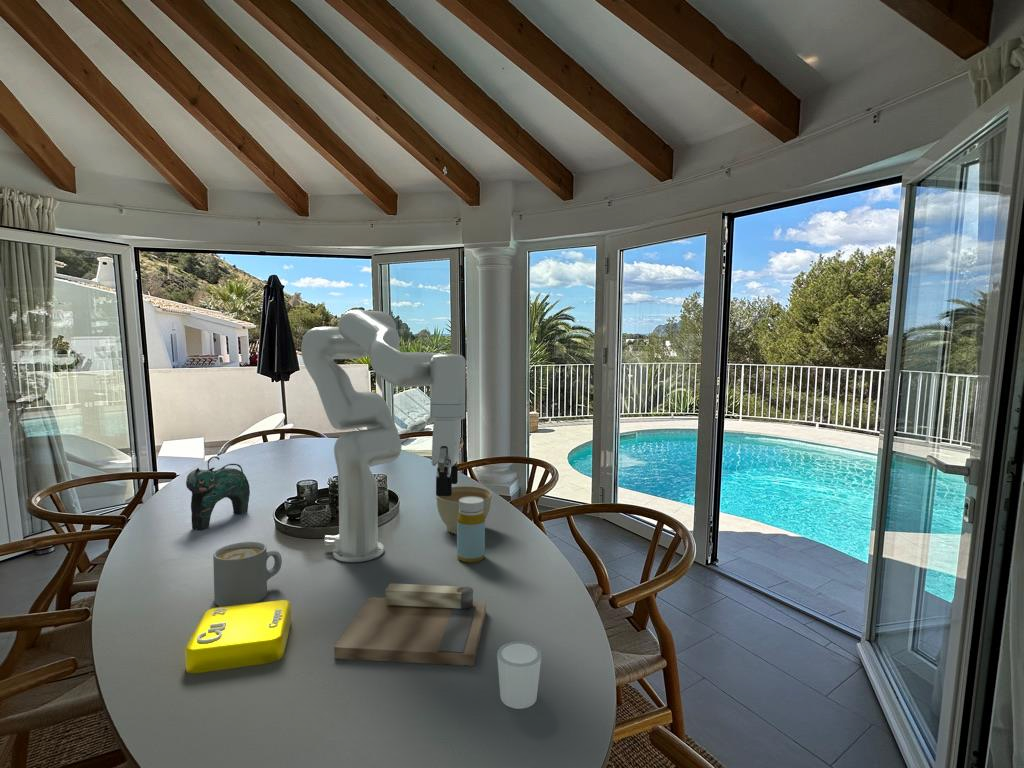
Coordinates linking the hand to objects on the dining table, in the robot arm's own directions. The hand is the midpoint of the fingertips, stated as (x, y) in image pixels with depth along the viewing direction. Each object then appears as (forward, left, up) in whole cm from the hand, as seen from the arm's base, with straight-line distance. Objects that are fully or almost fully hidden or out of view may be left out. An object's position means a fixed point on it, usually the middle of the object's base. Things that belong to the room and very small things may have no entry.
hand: (447, 489), depth 116 cm
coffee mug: (-41, -7, -23) cm, 47 cm away
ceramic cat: (-76, +37, -23) cm, 88 cm away
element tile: (-32, -25, -23) cm, 47 cm away
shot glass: (+18, -35, -23) cm, 45 cm away
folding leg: (-1, -12, -20) cm, 23 cm away
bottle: (+3, +17, -23) cm, 29 cm away
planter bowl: (-2, +37, -23) cm, 44 cm away
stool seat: (-2, -19, -22) cm, 29 cm away
